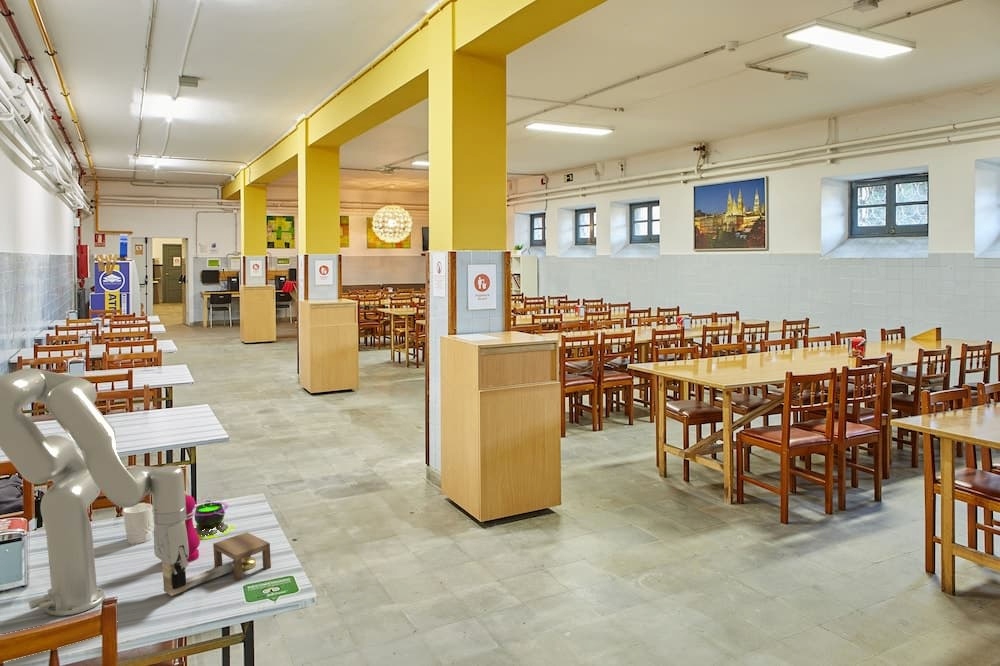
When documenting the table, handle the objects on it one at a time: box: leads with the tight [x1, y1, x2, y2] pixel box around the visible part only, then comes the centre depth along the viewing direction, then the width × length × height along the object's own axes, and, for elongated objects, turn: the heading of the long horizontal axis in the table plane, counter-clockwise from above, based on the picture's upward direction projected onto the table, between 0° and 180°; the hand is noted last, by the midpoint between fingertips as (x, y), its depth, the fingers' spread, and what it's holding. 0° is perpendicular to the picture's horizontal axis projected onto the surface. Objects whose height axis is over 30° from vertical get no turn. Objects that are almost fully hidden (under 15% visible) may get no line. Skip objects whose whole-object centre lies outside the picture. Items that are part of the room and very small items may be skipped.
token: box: [241, 556, 257, 572], centre depth 193 cm, size 5×5×2 cm
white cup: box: [122, 503, 154, 545], centre depth 211 cm, size 8×8×10 cm
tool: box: [161, 558, 234, 597], centre depth 182 cm, size 17×4×9 cm, turn 139°
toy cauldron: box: [193, 493, 235, 540], centre depth 218 cm, size 15×15×11 cm
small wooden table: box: [212, 531, 272, 581], centre depth 192 cm, size 10×12×7 cm
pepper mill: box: [185, 490, 201, 563], centre depth 197 cm, size 7×7×20 cm
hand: (175, 583), depth 178 cm, fingers closed on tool, 4 cm apart
